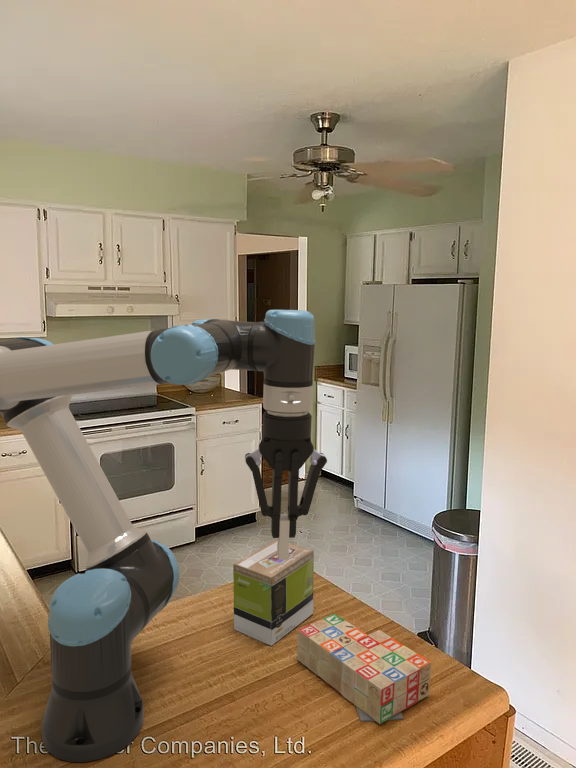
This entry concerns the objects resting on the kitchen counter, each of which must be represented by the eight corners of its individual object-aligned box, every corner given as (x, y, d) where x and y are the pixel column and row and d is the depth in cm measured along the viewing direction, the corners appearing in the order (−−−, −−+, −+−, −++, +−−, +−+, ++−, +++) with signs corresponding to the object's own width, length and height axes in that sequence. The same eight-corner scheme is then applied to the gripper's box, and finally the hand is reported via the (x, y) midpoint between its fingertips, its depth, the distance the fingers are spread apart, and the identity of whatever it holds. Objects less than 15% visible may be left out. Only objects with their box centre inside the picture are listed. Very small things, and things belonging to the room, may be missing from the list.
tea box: (276, 600, 133) (277, 536, 131) (314, 615, 127) (316, 549, 125) (231, 630, 121) (232, 561, 119) (271, 648, 115) (272, 576, 113)
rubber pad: (360, 722, 96) (360, 720, 96) (345, 674, 108) (345, 672, 108) (403, 719, 97) (403, 717, 97) (383, 672, 109) (383, 670, 109)
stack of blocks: (296, 628, 111) (345, 608, 118) (295, 659, 111) (344, 637, 119) (382, 689, 94) (432, 661, 102) (380, 725, 95) (430, 695, 102)
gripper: (246, 416, 88) (242, 568, 91) (333, 416, 89) (327, 565, 93) (243, 406, 95) (240, 546, 99) (324, 406, 97) (318, 545, 100)
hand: (282, 555), depth 96 cm, fingers closed
